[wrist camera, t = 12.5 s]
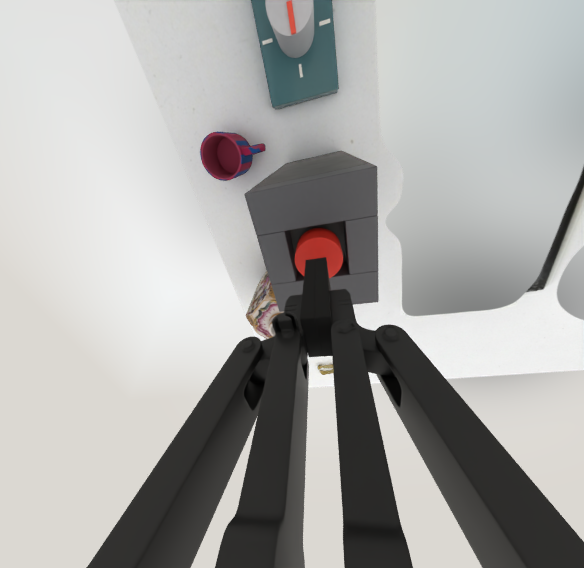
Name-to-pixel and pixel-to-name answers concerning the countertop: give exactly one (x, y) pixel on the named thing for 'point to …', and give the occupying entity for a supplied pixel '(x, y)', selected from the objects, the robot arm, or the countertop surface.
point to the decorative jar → (263, 308)
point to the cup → (227, 155)
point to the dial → (292, 24)
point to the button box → (319, 221)
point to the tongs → (326, 371)
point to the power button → (319, 249)
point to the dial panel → (299, 59)
